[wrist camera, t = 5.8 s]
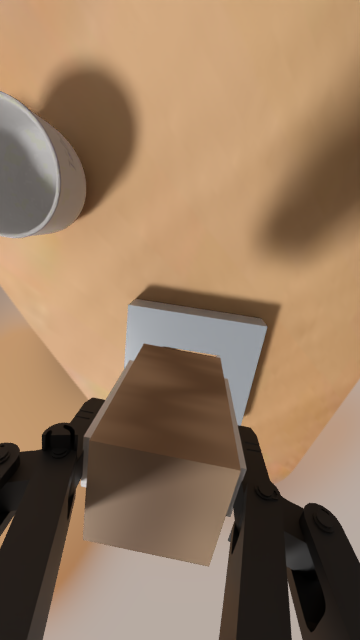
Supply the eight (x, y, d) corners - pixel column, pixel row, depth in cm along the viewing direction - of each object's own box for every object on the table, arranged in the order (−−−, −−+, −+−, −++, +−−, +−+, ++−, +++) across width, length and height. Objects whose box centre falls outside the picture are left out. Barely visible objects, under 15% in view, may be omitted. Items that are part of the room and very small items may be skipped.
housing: (261, 318, 30) (267, 326, 27) (234, 421, 35) (237, 437, 32) (135, 298, 31) (128, 304, 28) (127, 402, 36) (121, 416, 33)
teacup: (113, 167, 26) (76, 137, 19) (77, 255, 30) (33, 260, 22) (-4, 92, 25) (-94, 29, 17) (-27, 193, 28) (-111, 176, 21)
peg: (220, 358, 15) (241, 470, 8) (205, 420, 17) (208, 566, 9) (143, 343, 15) (89, 440, 8) (135, 407, 17) (83, 539, 9)
